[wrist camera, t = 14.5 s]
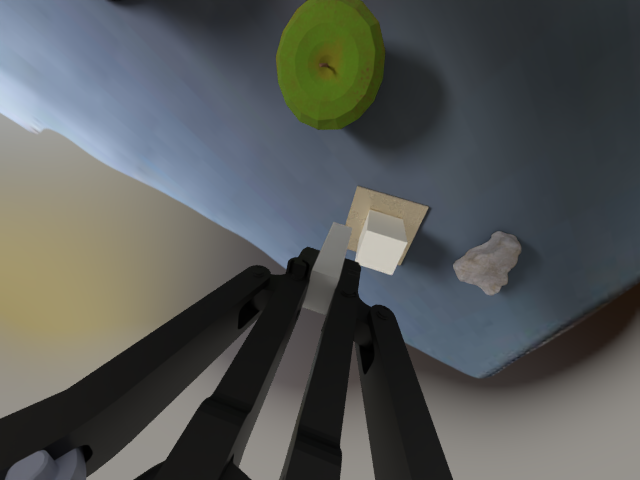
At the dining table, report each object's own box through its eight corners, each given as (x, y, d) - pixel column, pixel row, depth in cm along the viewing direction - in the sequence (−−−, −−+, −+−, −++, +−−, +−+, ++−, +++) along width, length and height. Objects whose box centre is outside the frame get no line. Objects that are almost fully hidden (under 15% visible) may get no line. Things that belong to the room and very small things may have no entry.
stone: (444, 268, 44) (452, 287, 39) (474, 220, 40) (488, 235, 34) (489, 283, 44) (503, 304, 38) (524, 236, 39) (546, 254, 34)
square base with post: (357, 185, 41) (352, 202, 33) (428, 206, 40) (439, 228, 32) (339, 244, 47) (330, 270, 39) (400, 263, 46) (403, 294, 38)
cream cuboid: (369, 209, 41) (366, 230, 34) (402, 219, 41) (407, 242, 33) (359, 238, 44) (354, 263, 37) (390, 247, 44) (391, 275, 36)
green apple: (359, 139, 38) (351, 148, 28) (288, 107, 38) (255, 104, 28) (401, 43, 31) (410, 11, 22) (316, 5, 32) (287, -44, 22)
